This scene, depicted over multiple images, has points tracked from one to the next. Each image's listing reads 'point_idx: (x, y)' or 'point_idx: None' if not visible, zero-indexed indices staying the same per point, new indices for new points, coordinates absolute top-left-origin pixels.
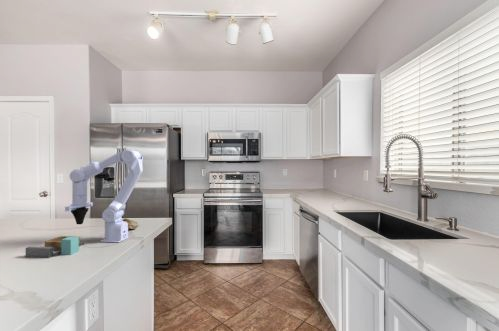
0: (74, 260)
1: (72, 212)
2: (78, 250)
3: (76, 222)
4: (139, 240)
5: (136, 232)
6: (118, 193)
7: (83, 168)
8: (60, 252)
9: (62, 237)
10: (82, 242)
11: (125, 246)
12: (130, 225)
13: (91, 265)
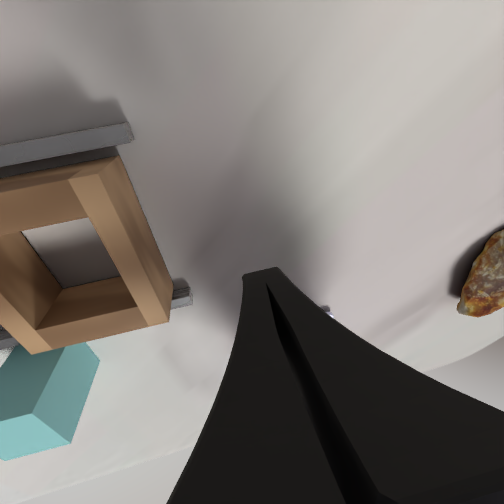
0: None
1: (190, 488)
2: (98, 364)
3: (244, 291)
4: None
5: (412, 338)
6: None
7: None
8: (12, 343)
9: (92, 217)
10: (177, 307)
11: None
12: (483, 314)
13: (47, 470)
